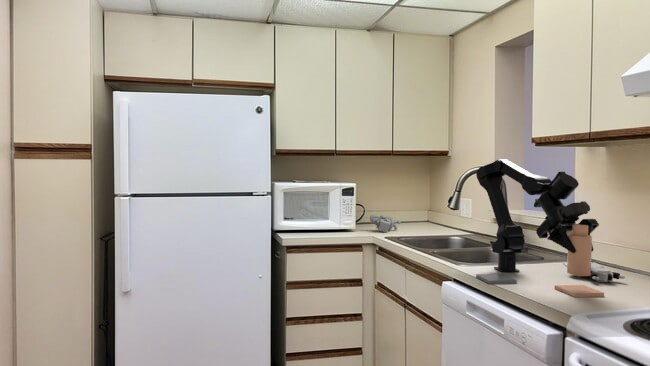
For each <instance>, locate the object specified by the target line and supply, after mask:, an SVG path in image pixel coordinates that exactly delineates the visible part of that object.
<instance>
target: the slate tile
mask: <svg viewBox="0 0 650 366" xmlns="http://www.w3.org/2000/svg"><path fill="white" fill-rule="evenodd" d="M476 278H477V279H479V280H481V281H483V282H485V283H486V284H488V285H497V284H498V285H501V284H502V285H503V284H504V285H505V284H506V285H507V284H518V280H517V279H515V278H512V277H511V276H508V275H506V274H504V273H476Z"/></svg>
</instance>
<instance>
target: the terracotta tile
mask: <svg viewBox="0 0 650 366" xmlns="http://www.w3.org/2000/svg"><path fill="white" fill-rule="evenodd" d="M554 289H555V290H557V291H559V292H561V291H562V292H561V293H563V294H567V295H568V294H569V295H568V296H571V297H574V298H584V297H585V298H586V297H587V298H589V297H605V292H604V291H600V290H599V289H595V288H592V287H591V286H590V287H589V286H587V285H585V284H561V285H560V284H557V285H556V284H555V285H554Z"/></svg>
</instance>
